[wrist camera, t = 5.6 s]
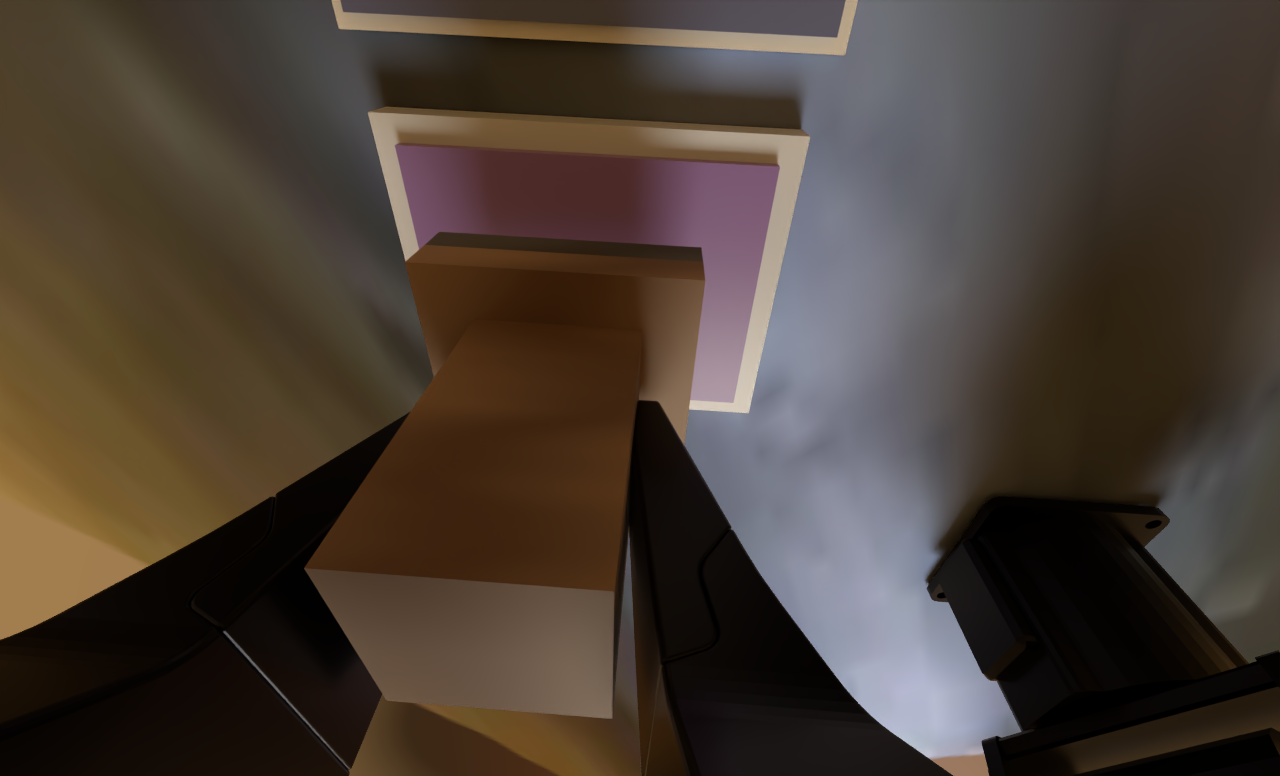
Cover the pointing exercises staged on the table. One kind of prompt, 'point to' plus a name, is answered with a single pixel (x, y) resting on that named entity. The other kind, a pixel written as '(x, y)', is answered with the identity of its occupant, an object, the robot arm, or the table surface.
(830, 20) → the marked card
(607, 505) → the stamp
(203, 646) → the robot arm
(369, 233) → the table surface
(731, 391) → the ink pad
